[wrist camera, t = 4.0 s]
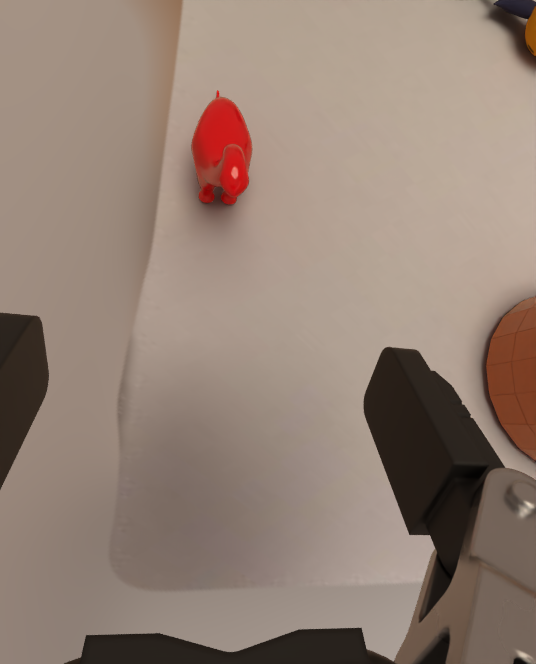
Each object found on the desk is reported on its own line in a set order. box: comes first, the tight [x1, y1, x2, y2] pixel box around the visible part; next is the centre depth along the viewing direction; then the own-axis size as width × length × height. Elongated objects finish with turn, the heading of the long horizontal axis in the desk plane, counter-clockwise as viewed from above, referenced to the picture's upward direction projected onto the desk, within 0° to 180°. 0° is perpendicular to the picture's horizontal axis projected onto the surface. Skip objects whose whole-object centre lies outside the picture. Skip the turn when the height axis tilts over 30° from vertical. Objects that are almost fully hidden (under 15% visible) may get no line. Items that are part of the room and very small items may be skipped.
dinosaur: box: [191, 90, 252, 204], centre depth 26 cm, size 4×15×12 cm, turn 1°
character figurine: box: [494, 0, 536, 56], centre depth 40 cm, size 10×6×12 cm
